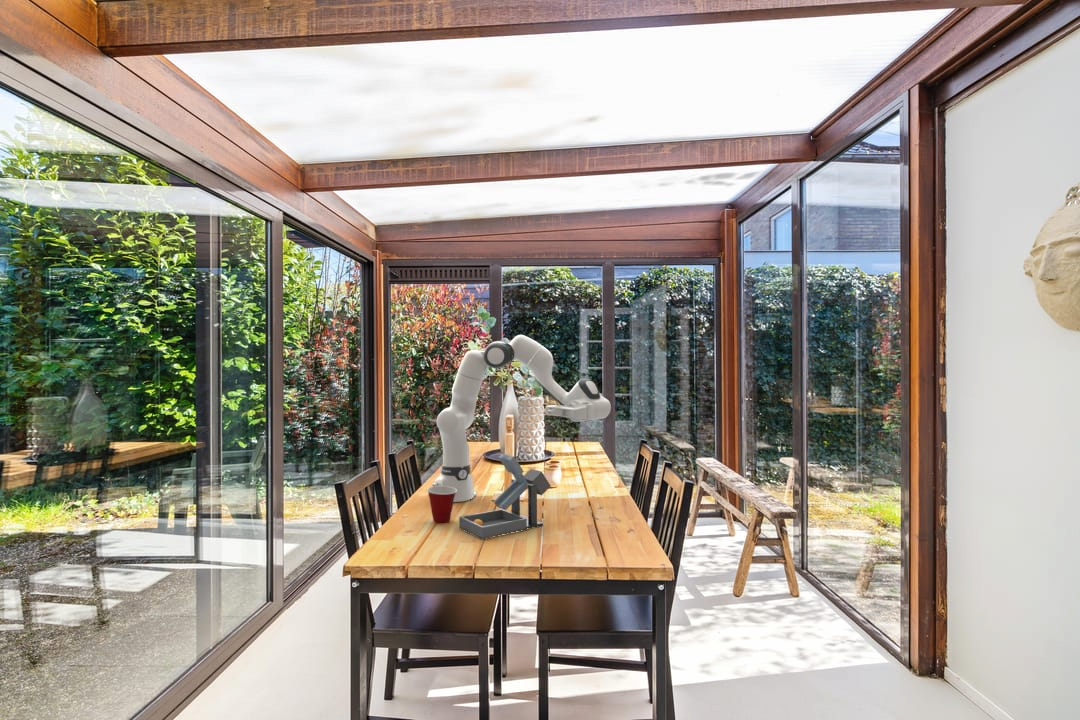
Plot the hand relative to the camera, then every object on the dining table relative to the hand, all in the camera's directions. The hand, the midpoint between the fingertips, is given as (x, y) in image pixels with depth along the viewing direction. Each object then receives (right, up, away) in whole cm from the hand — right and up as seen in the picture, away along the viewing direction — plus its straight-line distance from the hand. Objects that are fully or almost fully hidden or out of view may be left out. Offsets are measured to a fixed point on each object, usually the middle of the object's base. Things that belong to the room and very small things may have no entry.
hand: (549, 412), depth 229 cm
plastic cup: (-39, -38, -15) cm, 57 cm away
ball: (-25, -36, -28) cm, 52 cm away
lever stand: (-9, -38, -17) cm, 43 cm away
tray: (-20, -38, -25) cm, 50 cm away
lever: (-8, -31, -17) cm, 36 cm away
